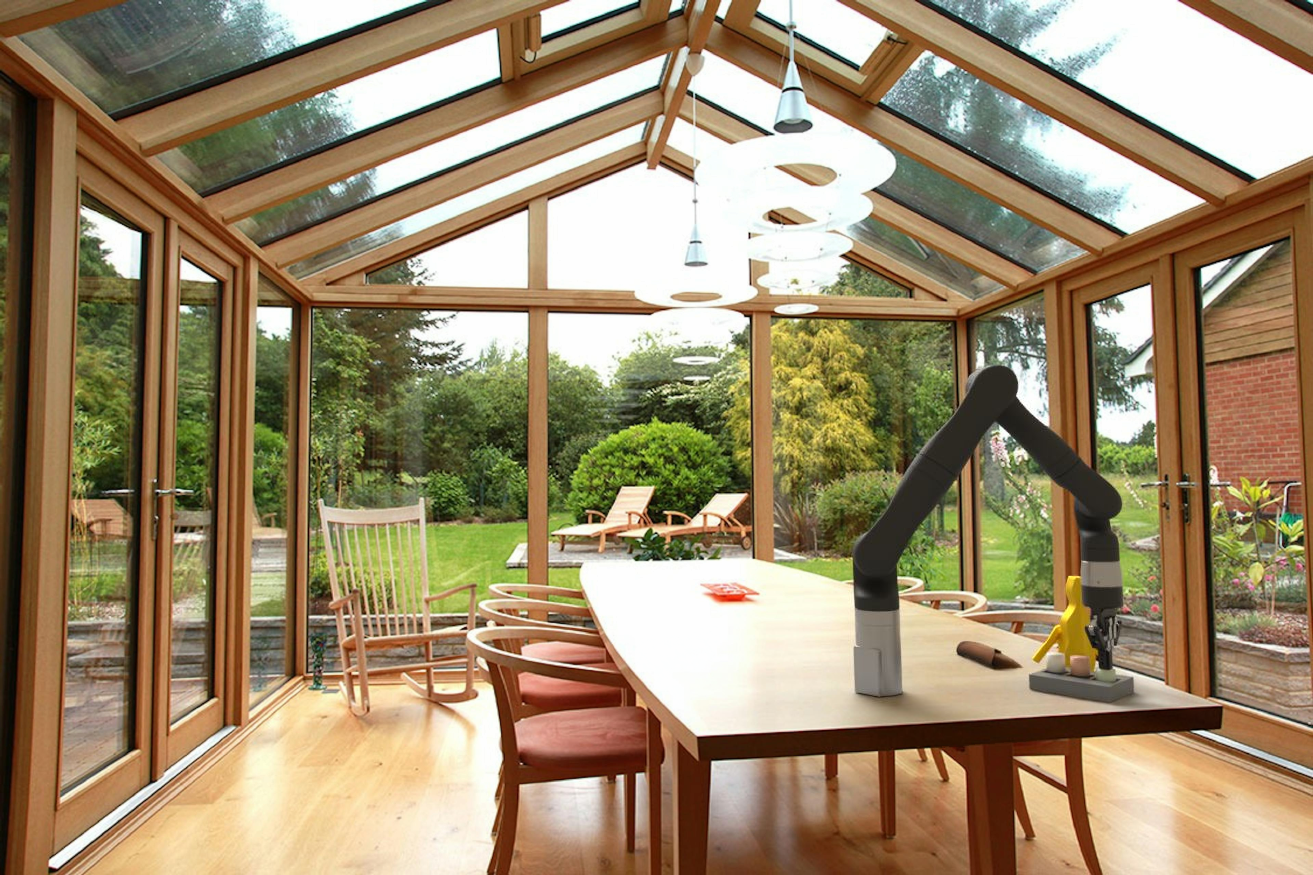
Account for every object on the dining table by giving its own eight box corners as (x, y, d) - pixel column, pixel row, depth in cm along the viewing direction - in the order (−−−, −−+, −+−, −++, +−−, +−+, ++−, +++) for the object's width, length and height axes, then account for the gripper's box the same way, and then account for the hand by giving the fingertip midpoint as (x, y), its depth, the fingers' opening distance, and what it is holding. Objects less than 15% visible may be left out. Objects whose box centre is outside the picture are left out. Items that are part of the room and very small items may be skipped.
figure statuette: (1098, 668, 198) (1094, 572, 199) (1122, 675, 190) (1117, 575, 191) (1027, 672, 195) (1023, 574, 196) (1048, 680, 187) (1043, 578, 188)
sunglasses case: (1026, 667, 200) (1011, 642, 200) (1003, 684, 199) (987, 659, 199) (987, 652, 218) (973, 630, 218) (965, 668, 217) (951, 645, 217)
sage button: (1112, 689, 172) (1111, 671, 172) (1093, 686, 175) (1092, 669, 175) (1119, 686, 174) (1118, 668, 174) (1100, 683, 177) (1099, 666, 177)
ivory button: (1060, 673, 179) (1060, 656, 180) (1043, 670, 182) (1043, 653, 182) (1068, 670, 182) (1067, 653, 182) (1051, 667, 185) (1050, 651, 185)
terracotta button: (1085, 676, 176) (1084, 659, 176) (1067, 674, 178) (1067, 657, 179) (1093, 673, 178) (1092, 656, 178) (1075, 671, 181) (1074, 654, 181)
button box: (1110, 702, 168) (1109, 686, 168) (1029, 688, 180) (1028, 674, 180) (1134, 691, 176) (1133, 676, 176) (1055, 679, 188) (1054, 665, 188)
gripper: (1107, 587, 168) (1112, 677, 167) (1133, 581, 177) (1138, 666, 176) (1068, 584, 174) (1072, 671, 173) (1095, 578, 183) (1100, 661, 182)
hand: (1105, 669), depth 175 cm, fingers closed
